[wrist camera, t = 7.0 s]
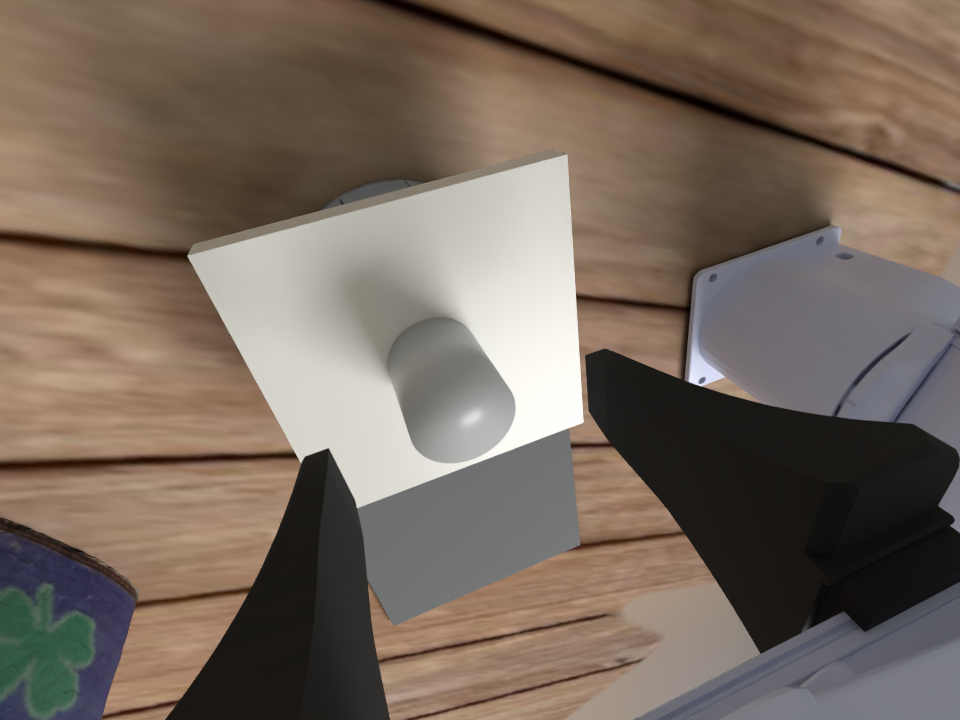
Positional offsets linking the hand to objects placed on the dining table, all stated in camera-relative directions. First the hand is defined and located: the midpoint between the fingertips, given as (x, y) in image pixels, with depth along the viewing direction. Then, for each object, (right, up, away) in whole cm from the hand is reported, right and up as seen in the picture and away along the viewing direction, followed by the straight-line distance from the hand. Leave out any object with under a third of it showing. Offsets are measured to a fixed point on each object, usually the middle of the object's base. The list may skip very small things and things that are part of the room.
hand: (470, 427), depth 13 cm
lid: (-2, +2, +5) cm, 5 cm away
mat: (0, -8, +17) cm, 18 cm away
